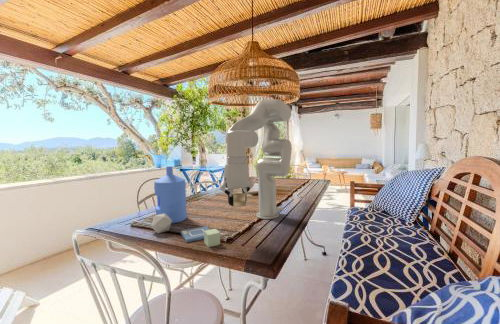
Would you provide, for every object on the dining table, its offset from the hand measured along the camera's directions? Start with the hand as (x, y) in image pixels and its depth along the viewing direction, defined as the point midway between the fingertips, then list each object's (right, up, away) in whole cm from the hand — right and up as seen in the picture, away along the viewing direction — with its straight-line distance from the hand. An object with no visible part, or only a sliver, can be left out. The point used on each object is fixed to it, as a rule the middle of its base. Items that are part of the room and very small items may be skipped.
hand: (237, 203), depth 102 cm
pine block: (0, -1, 0) cm, 1 cm away
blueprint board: (-18, -15, +6) cm, 24 cm away
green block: (-10, -16, -3) cm, 19 cm away
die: (-35, -15, +11) cm, 40 cm away
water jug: (-36, -13, +27) cm, 47 cm away
